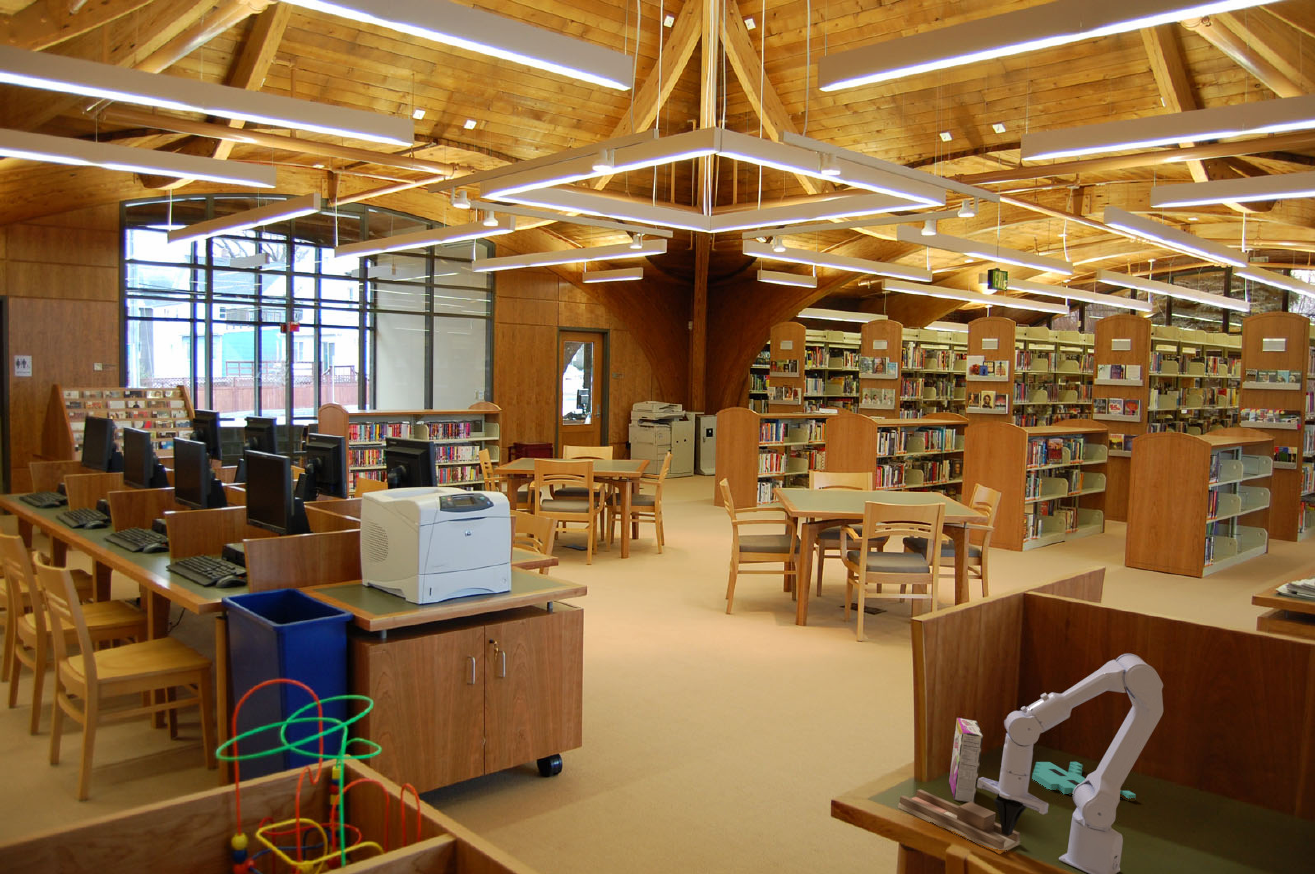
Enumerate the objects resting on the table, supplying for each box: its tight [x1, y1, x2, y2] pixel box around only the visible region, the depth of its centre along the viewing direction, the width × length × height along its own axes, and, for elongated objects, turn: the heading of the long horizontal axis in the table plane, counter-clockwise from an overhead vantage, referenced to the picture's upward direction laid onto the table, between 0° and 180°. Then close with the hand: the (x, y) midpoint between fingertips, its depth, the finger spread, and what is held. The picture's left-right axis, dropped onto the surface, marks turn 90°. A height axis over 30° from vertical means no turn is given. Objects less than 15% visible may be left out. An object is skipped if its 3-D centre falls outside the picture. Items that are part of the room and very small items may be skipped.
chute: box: [898, 789, 1021, 851], centre depth 201 cm, size 24×9×2 cm, turn 43°
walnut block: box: [957, 802, 997, 833], centre depth 198 cm, size 6×5×4 cm
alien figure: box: [1031, 761, 1137, 799], centre depth 235 cm, size 20×2×20 cm
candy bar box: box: [948, 717, 984, 804], centre depth 219 cm, size 11×5×16 cm, turn 168°
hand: (1006, 833), depth 192 cm, fingers closed
